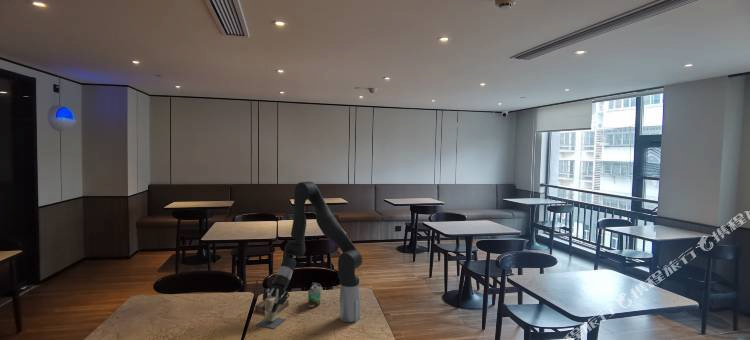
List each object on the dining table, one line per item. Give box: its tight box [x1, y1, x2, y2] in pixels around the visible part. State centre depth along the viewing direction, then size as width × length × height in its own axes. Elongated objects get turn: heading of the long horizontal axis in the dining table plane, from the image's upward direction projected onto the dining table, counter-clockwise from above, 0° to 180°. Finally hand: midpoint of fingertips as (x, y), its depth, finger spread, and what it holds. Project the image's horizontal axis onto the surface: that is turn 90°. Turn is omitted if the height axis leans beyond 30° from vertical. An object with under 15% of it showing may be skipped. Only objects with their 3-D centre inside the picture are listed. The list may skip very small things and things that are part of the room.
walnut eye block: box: [254, 299, 289, 314], centre depth 196 cm, size 12×12×3 cm
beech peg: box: [264, 296, 278, 321], centre depth 180 cm, size 4×4×10 cm
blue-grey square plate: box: [255, 317, 287, 330], centre depth 180 cm, size 10×10×1 cm
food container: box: [307, 282, 323, 309], centre depth 201 cm, size 12×6×10 cm, turn 179°
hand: (268, 311), depth 178 cm, fingers closed on beech peg, 4 cm apart
